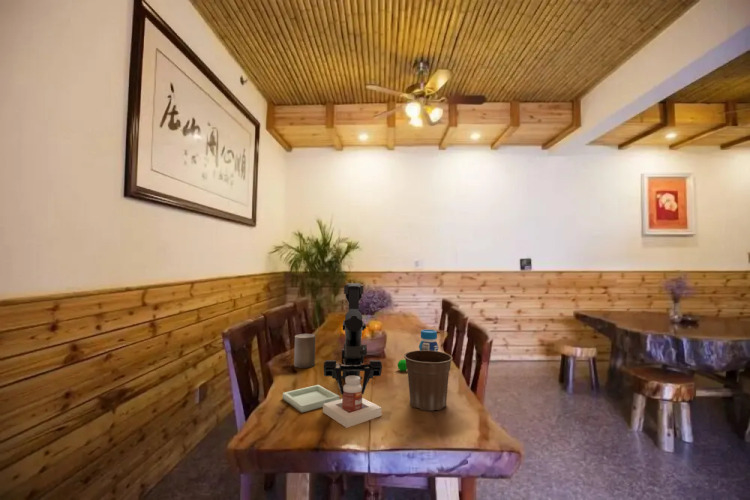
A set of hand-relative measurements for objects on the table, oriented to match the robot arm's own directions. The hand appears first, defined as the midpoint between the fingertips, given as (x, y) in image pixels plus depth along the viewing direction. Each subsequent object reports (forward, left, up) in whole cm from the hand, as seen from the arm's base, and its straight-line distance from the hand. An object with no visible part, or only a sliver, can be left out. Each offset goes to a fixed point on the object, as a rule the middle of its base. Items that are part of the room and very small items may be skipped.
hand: (352, 393), depth 102 cm
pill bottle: (-1, -1, -7) cm, 7 cm away
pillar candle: (-14, -57, -7) cm, 59 cm away
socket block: (-1, -1, -7) cm, 7 cm away
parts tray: (+4, -18, -7) cm, 20 cm away
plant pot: (-26, +8, -7) cm, 28 cm away
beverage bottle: (-46, -9, -7) cm, 47 cm away
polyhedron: (-46, -24, -7) cm, 52 cm away
